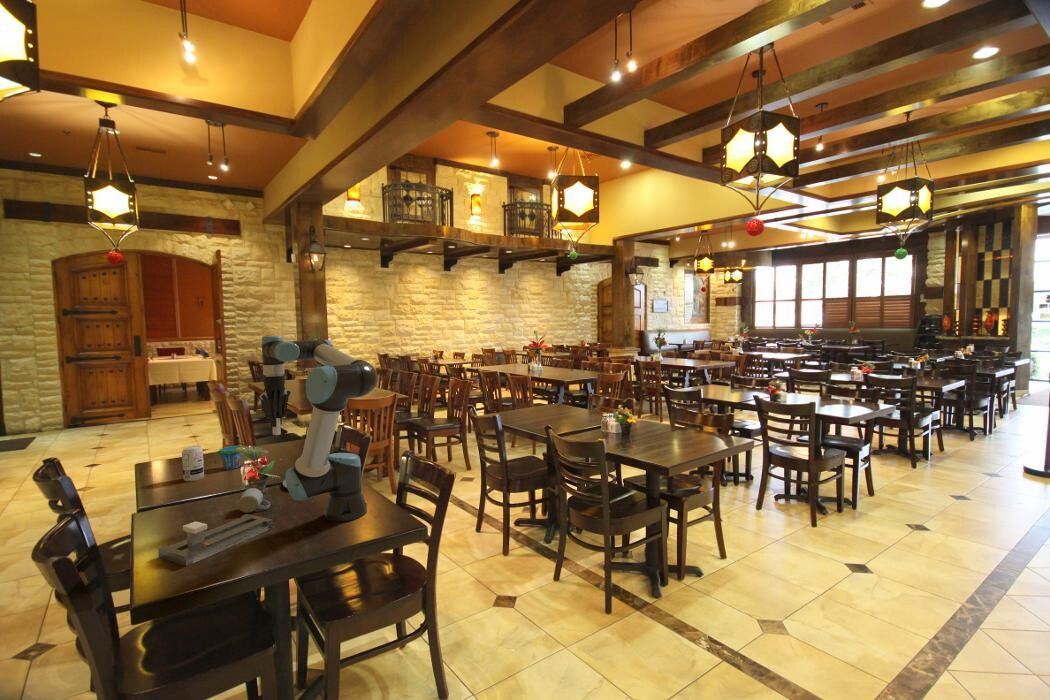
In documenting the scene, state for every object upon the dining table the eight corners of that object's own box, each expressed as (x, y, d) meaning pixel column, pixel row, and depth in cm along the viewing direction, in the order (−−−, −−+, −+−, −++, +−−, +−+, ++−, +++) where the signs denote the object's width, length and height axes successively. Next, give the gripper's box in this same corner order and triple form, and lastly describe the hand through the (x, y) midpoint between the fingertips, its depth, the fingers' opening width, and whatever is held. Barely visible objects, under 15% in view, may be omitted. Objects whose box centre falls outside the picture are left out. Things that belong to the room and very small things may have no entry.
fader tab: (196, 542, 162) (195, 521, 162) (208, 545, 160) (207, 524, 160) (184, 547, 159) (182, 526, 158) (195, 550, 156) (194, 529, 156)
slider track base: (247, 521, 183) (246, 513, 183) (273, 527, 177) (272, 519, 177) (158, 557, 156) (158, 548, 156) (186, 566, 150) (185, 556, 150)
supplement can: (186, 477, 237) (185, 446, 236) (206, 475, 240) (204, 445, 239) (180, 482, 229) (178, 450, 228) (201, 480, 232) (199, 449, 231)
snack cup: (212, 472, 244) (211, 452, 243) (216, 466, 254) (215, 447, 253) (248, 468, 250) (247, 448, 249) (251, 463, 260) (250, 444, 259)
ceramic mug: (237, 515, 189) (237, 495, 189) (242, 507, 197) (241, 488, 196) (268, 511, 193) (267, 492, 192) (271, 504, 200) (271, 485, 200)
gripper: (281, 373, 201) (284, 430, 203) (252, 376, 189) (255, 437, 191) (294, 373, 198) (297, 431, 199) (265, 377, 186) (268, 439, 188)
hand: (276, 434), depth 195 cm, fingers closed
